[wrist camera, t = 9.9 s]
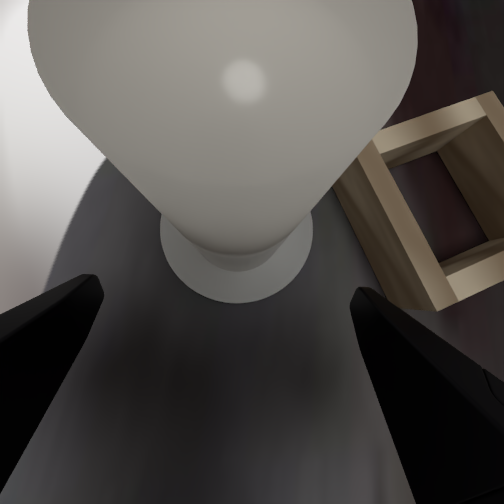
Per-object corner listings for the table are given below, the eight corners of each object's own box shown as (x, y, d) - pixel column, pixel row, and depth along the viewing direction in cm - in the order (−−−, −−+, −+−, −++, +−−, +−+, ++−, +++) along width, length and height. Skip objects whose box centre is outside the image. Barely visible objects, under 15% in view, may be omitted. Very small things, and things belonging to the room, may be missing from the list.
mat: (193, 327, 16) (190, 329, 15) (144, 188, 18) (139, 183, 17) (333, 268, 17) (337, 267, 16) (275, 144, 19) (277, 137, 18)
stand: (391, 307, 17) (437, 311, 13) (325, 173, 19) (348, 141, 15) (514, 251, 18) (589, 239, 14) (442, 130, 20) (492, 90, 16)
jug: (280, 273, 16) (435, 199, 3) (188, 269, 16) (-19, 171, 3) (283, 152, 18) (392, -201, 5) (200, 146, 18) (94, -244, 5)
